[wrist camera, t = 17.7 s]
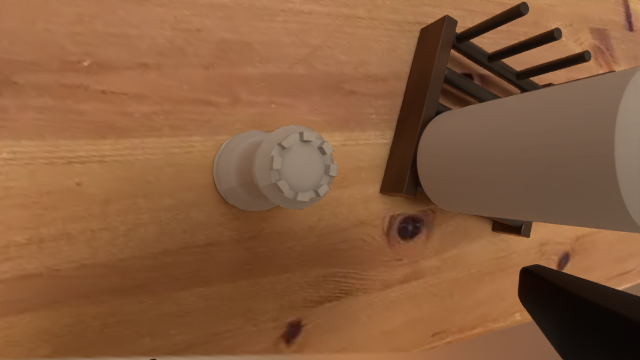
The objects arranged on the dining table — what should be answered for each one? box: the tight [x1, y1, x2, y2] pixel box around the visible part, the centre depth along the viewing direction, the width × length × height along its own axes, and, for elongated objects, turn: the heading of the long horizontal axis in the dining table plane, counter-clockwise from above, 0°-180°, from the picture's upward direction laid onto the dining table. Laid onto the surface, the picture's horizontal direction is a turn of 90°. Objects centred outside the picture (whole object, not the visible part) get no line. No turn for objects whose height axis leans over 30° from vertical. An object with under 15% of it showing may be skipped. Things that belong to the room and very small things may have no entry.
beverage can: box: [417, 66, 640, 233], centre depth 17 cm, size 6×6×12 cm
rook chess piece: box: [213, 125, 337, 211], centre depth 16 cm, size 4×4×8 cm
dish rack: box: [380, 2, 616, 238], centre depth 24 cm, size 12×12×7 cm
